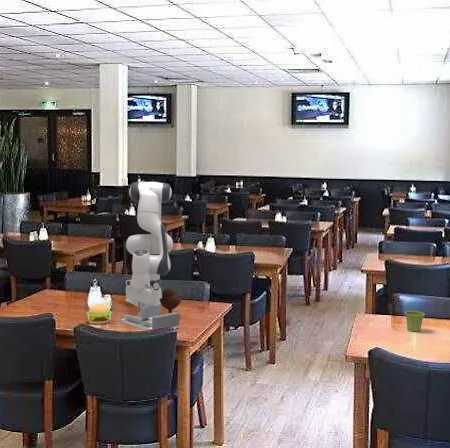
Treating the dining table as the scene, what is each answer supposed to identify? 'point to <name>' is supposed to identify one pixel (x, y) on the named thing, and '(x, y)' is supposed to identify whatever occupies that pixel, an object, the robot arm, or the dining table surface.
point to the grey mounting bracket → (157, 321)
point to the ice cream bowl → (169, 300)
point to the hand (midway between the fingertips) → (140, 310)
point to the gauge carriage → (150, 312)
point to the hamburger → (99, 314)
